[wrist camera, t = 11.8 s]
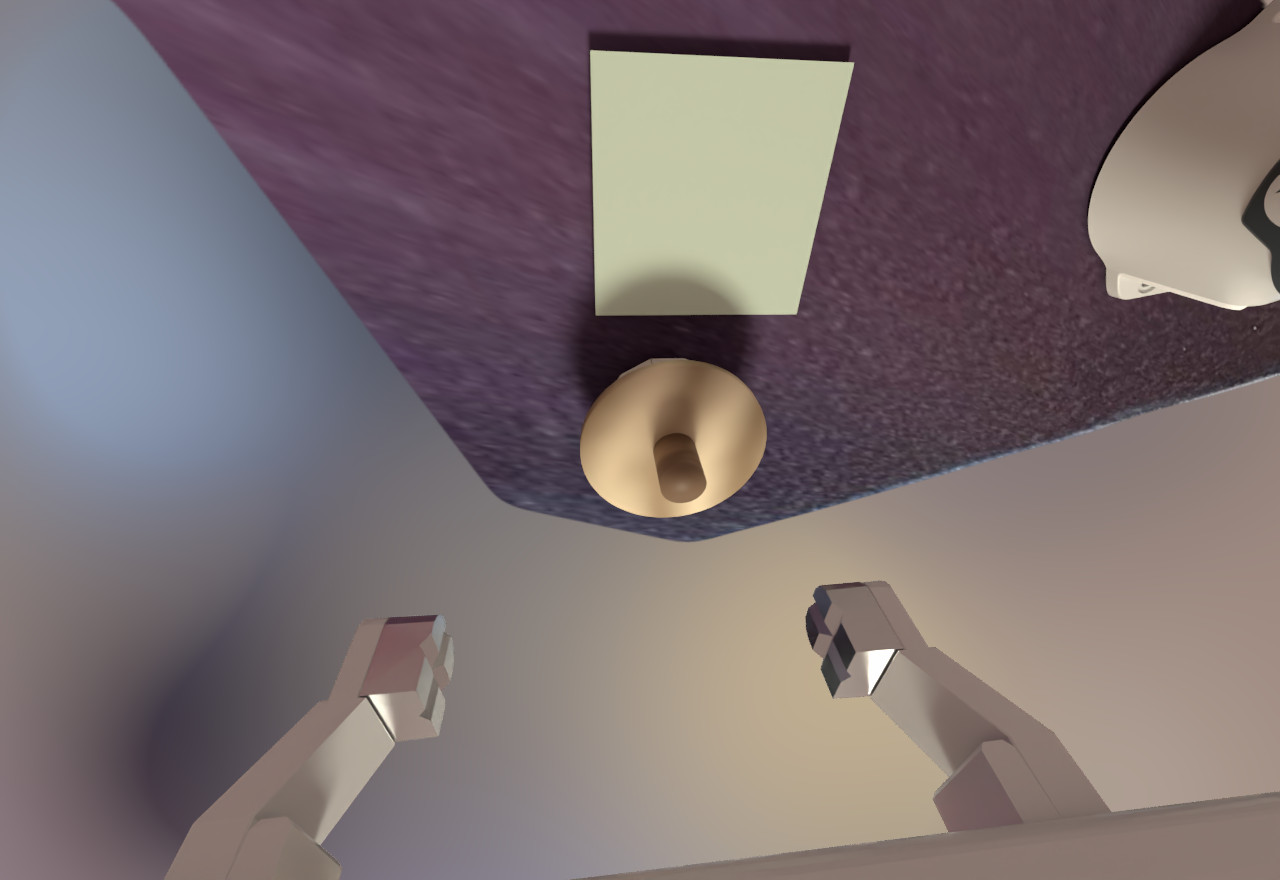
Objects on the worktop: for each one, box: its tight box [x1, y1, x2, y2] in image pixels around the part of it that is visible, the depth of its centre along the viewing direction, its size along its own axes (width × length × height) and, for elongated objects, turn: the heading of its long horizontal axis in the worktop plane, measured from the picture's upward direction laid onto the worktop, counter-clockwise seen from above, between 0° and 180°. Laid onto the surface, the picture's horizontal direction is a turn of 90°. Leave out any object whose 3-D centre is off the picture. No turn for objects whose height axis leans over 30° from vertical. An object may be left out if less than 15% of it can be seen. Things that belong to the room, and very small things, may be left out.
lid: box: [580, 360, 767, 517], centre depth 36 cm, size 14×14×5 cm
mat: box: [590, 50, 854, 316], centre depth 32 cm, size 15×15×1 cm
